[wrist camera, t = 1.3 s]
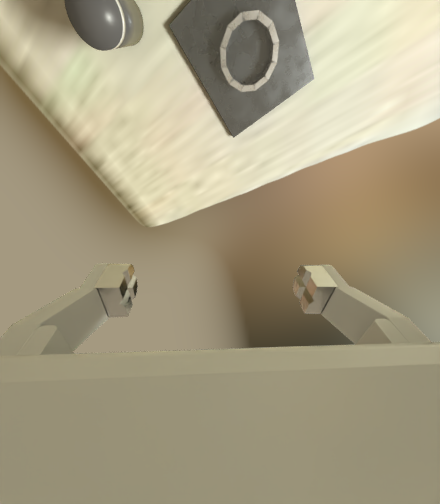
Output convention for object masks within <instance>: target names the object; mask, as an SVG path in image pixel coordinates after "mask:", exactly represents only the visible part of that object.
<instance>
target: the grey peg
mask: <svg viewBox="0 0 440 504" xmlns="http://www.w3.org/2000/svg"><path fill="white" fill-rule="evenodd" d="M65 7H66V11H67V14H68V17H69V19H70V21H71V24H72V25H73V27H74V29H75V30H76V32H77V33H78V35H79V36H80V37H81V38H82V39H83V40H84V41H85V42H86V43H87V44H88V45H90V46H91V47H93V48H95V49H98V50H112V49H116V48H121V47H127V46H132V45H135V44H137V43H138V42H139V41H140V40H141V38H142V35H143V19H142V15H141V12H140V10H139V7H138V6H137V4H136V2H135V1H134V0H65Z"/></svg>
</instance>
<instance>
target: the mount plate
mask: <svg viewBox="0 0 440 504" xmlns="http://www.w3.org/2000/svg"><path fill="white" fill-rule="evenodd" d="M169 26H170V28H171V30H172V32H173V33H174V35H175V37H176V39H177V40H178V42H179V44H180V45H181V47H182V49H183V51H184V52H185V54H186V56H187V58H188V59H189V61H190V63H191V65H192V66H193V68H194V70H195V72H196V73H197V75H198V77H199V79H200V80H201V82H202V84H203V85H204V87H205V89H206V91H207V92H208V94H209V96H210V98H211V99H212V101H213V103H214V105H215V106H216V108H217V110H218V112H219V113H220V115H221V117H222V119H223V120H224V122H225V124H226V125H227V127H228V129H229V131H230V132H231V134H232V136H233V138H234V137H235V136H236V135H238V134H239V133H241V132H242V131H243V130H245V129H246V128H247V127H249V126H250V125H252V124H253V123H254V122H256V121H257V120H258V119H260V118H261V117H263V116H264V115H265V114H267V113H268V112H269V111H271V110H272V109H274V108H275V107H276V106H278V105H279V104H280V103H282V102H283V101H284V100H286V99H287V98H289V97H290V96H291V95H293V94H294V93H295V92H297V91H298V90H300V89H301V88H302V87H304V86H305V85H306V84H308V83H309V82H311V81H312V80H313V79H314V76H313V72H312V68H311V63H310V59H309V55H308V51H307V47H306V43H305V39H304V35H303V31H302V27H301V23H300V19H299V15H298V11H297V7H296V3H295V0H191V1H190V2H189V3H188V4H187V5H186V7H185V8H184V9H183V10H182V11H181V12H180V13H179V15H178V16H177V17H176V18H175V19H174V20H173V21H172V23H171V24H170V25H169Z"/></svg>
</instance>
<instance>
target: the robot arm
mask: <svg viewBox="0 0 440 504" xmlns="http://www.w3.org/2000/svg"><path fill="white" fill-rule="evenodd" d="M134 272H135V270H134V267H133V265H132V264H101V263H99V264H96V265H95V266H94V268H93V269H92V271H91V272H90V274H89V275H88V277H87V278H86V279H85V281H84V283H83V284H82V285H81V287H80V288H75V289H74V290H72V291H70V292H69V293H67V294H65V295H63V296H61V297H60V298H58V299H56V300H54V301H53V302H51V303H49V304H47V305H46V306H44V307H43V308H41V309H39V310H37V311H35V312H33V313H32V314H30V315H28V316H26V317H25V318H23V319H21V320H20V321H18V322H16V323H14V324H12V325H11V326H10V327H9V328H8V330H7V331H6V332H5V333H4V334H3V335H2V336H1V338H0V504H440V342H431V341H430V340H429V339H428V338H427V337H426V336H425V335H424V334H423V333H422V332H421V331H420V330H419V329H418V327H417V326H416V325H415V324H414V323H413V322H412V321H411V320H410V319H409V318H408V317H406V316H404V315H402V314H400V313H399V312H397V311H395V310H393V309H391V308H390V307H388V306H386V305H384V304H382V303H381V302H379V301H377V300H375V299H373V298H372V297H370V296H368V295H366V294H364V293H363V292H361V291H359V290H357V289H355V288H354V287H349V286H348V284H347V283H346V282H345V281H344V280H343V278H342V277H341V276H340V275H339V274H338V272H337V271H336V270H335V269H334V267H333V266H331V265H300V267H299V268H298V270H297V272H298V274H299V275H298V276H297V277H295V279H294V282H293V289H294V293H295V295H296V296H297V297H298V298H299V299H301V300H300V302H299V303H300V305H301V307H302V309H303V311H304V313H305V314H322V315H323V316H324V317H325V318H326V319H327V320H328V321H329V322H330V323H332V324H333V325H334V326H335V327H336V328H337V329H338V330H340V331H341V332H342V333H343V334H344V335H345V336H347V337H348V338H349V339H350V340H351V341H352V342H353V343H354V344H355V345H331V346H330V345H329V346H302V347H301V346H300V347H299V346H298V347H271V348H270V347H268V348H239V349H238V348H237V349H204V350H173V351H143V352H113V353H112V352H110V353H79V354H74V353H73V351H74V350H75V349H76V348H77V347H78V346H79V345H81V344H82V343H83V342H84V341H85V340H86V339H87V338H88V337H89V336H90V335H91V334H92V333H93V332H95V331H96V330H97V329H98V328H99V327H100V326H101V325H102V324H103V323H104V322H105V321H106V320H107V319H108V317H127V316H129V313H130V310H131V308H132V301H131V300H132V299H134V298H135V296H136V293H137V287H138V286H137V278H136V277H135V276H133V274H134Z"/></svg>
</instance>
